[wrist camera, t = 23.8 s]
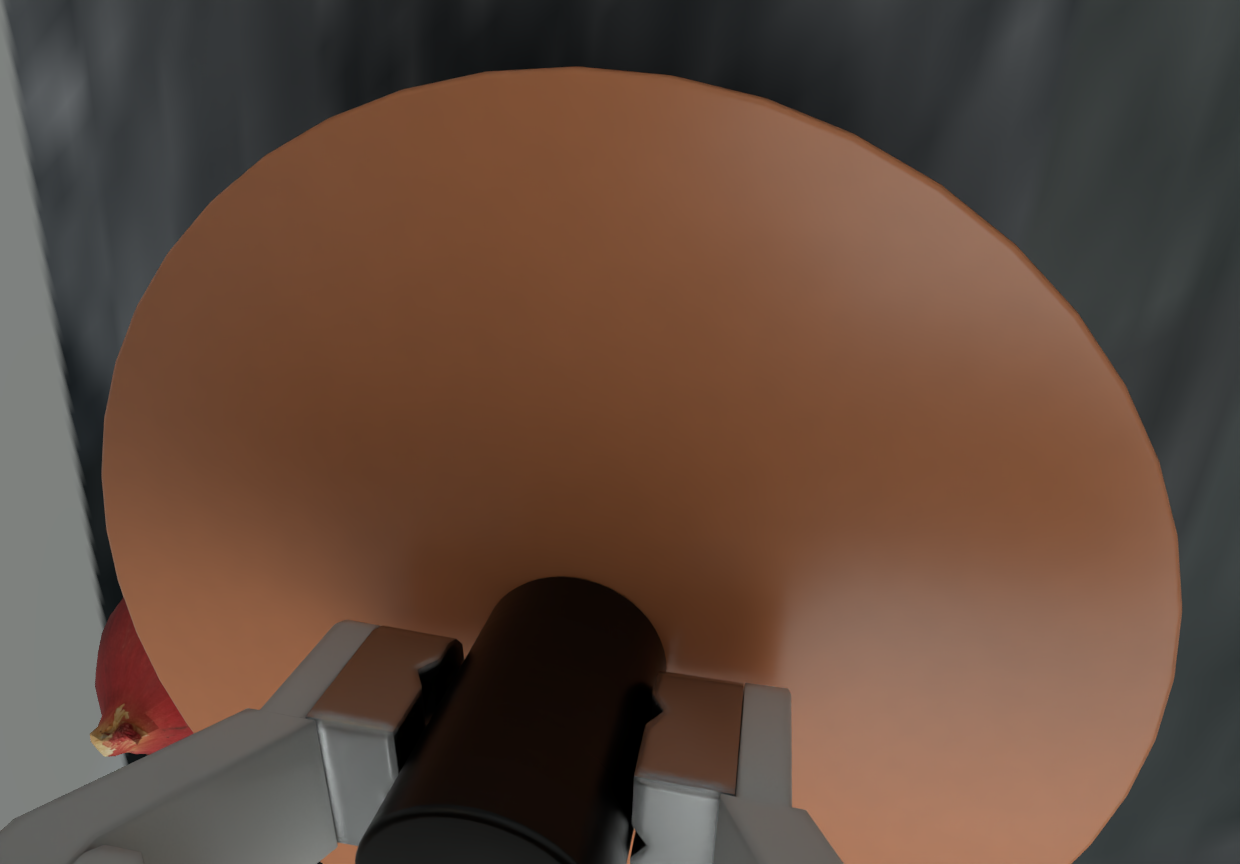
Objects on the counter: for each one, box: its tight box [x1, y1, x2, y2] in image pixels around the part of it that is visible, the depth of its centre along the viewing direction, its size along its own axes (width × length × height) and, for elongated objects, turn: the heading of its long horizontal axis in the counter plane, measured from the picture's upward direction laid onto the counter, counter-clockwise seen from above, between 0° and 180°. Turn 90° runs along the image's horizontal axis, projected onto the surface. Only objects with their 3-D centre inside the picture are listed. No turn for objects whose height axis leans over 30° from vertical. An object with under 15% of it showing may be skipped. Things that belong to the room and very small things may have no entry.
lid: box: [101, 66, 1182, 864], centre depth 9 cm, size 14×14×5 cm
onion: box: [90, 597, 194, 756], centre depth 22 cm, size 6×6×8 cm
